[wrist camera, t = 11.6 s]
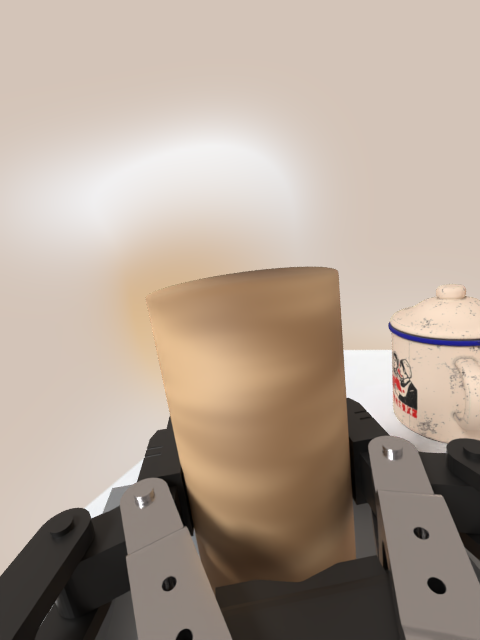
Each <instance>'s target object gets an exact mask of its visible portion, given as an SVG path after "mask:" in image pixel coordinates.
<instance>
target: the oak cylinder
mask: <svg viewBox="0 0 480 640" xmlns="http://www.w3.org/2000/svg"><path fill="white" fill-rule="evenodd" d="M146 302H147V307H148V311H149V316H150V321H151V326H152V330H153V336H154V340H155V345H156V350H157V355H158V359H159V364H160V369H161V373H162V378H163V383H164V387H165V393H166V397H167V402H168V407H169V412H170V416H171V421H172V426H173V431H174V436H175V440H176V445H177V450H178V455H179V459H180V464H181V467H182V472H183V477H184V482H185V486H186V491H187V496H188V501H189V506H190V510H191V515H192V520H193V525H194V531H195V536H196V540H197V545H198V550H199V555H200V559H201V563H202V565H203V568H204V570H205V573H206V575H207V578H208V580H209V583H210V585H211V588H212V590H213V593H214V595H215V588H216V587H221V586H226V585H231V584H236V583H241V582H246V581H250V580H255V579H257V580H271V581H286V582H301V581H304V580H306V579H308V578H310V577H312V576H313V575H315V574H317V573H319V572H321V571H323V570H325V569H327V568H329V567H331V566H333V565H335V564H336V563H339V562H344V561H349V560H354V559H356V547H355V531H354V515H353V499H352V483H351V467H350V451H349V435H348V419H347V403H346V387H345V371H344V355H343V339H342V323H341V308H340V291H339V275H338V271H337V270H336V269H332V268H327V267H289V268H276V269H265V270H256V271H248V272H240V273H234V274H226V275H220V276H214V277H209V278H204V279H199V280H194V281H189V282H185V283H181V284H177V285H173V286H169V287H166V288H163V289H160V290H157V291H155V292H153V293H150V294H149V295H147V296H146Z"/></svg>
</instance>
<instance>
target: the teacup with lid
mask: <svg viewBox="0 0 480 640" xmlns="http://www.w3.org/2000/svg"><path fill="white" fill-rule="evenodd" d="M465 295H466V288H465V287H464V286H463V285H459V284H448V285H441V286H439V287H438V288H437V289H436V296H437V297H432V298H429V299H426V300H424V301H422V302H420V303H419V304H417V305H415V306H412V307H408V308H405V309H402V310H400V311H398V312H396V313H395V314H394V315H393V316H392V317H391V319H390V322H389V329H390V331H391V332H392V373H393V409H394V413H395V415H396V417H397V418H398V419H399V421H400V422H401V423H402V424H404V425H405V426H406V427H407V428H409V429H411V430H412V431H414V432H416V433H418V434H420V435H422V436H425V437H427V438H430V439H433V440H437V441H441V442H445V443H449V442H450V441H452V440H454V439H459V438H470V439H476V440H480V300H478V299H476V298H472V297H467V296H465Z"/></svg>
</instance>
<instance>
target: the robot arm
mask: <svg viewBox="0 0 480 640" xmlns="http://www.w3.org/2000/svg"><path fill="white" fill-rule="evenodd" d="M346 403H347V419H348V435H349V451H350V467H351V483H352V498H353V499H354V501H355V503H356V505H360V504H365V503H368V504H369V506H370V507H371V518H372V527H373V534H374V541H375V549H376V555H374V556H369V557H364V558H359V559H354V560H349V561H344V562H339V563H336V564H335V565H333V566H331V567H329V568H327V569H325V570H323V571H321V572H319V573H317V574H315V575H313V576H312V577H310V578H308V579H306V580H304V581H301V582H286V581H271V580H257V579H255V580H250V581H246V582H241V583H236V584H231V585H226V586H221V587H216V588H215V595H214V593H213V590H212V588H211V585H210V583H209V580H208V578H207V575H206V573H205V570H204V568H203V565H202V563H201V560H200V558H199V555H198V553H197V550H196V548H195V545H194V543H193V540H192V538H191V536H194V525H193V520H192V515H191V510H190V506H189V501H188V496H187V491H186V486H185V482H184V477H183V472H182V467H181V464H180V459H179V455H178V450H177V445H176V440H175V436H174V431H173V426H172V421H171V416H170V417H169V421H168V425H167V429H163V430H158V431H157V432H156V433H155V434H154V435H153V436H152V437H151V439H150V441H149V444H148V447H147V451H146V454H145V458H144V460H143V464H142V467H141V470H140V474H139V477H138V480H137V483H135V484H133V485H132V486H131V487H129V488H128V489H127V490H126V491H125V492H124V494H123V495H122V497H121V499H120V505H119V506H118V507H116V508H114V509H112V510H110V511H108V512H106V513H103V514H101V515H99V516H96V517H94V518H92V519H91V516H90V514H89V512H88V511H87V510H86V509H83V508H73V509H69V510H66V511H63V512H61V513H59V514H57V515H56V516H54V517H53V518H51V519H50V520H48V521H47V522H46V523H45V524H44V525H43V526H42V527H41V528H40V529H39V531H38V532H37V533H36V534H35V535H34V536H33V538H32V539H31V540H30V541H29V542H28V544H27V545H26V546H25V547H24V549H23V550H22V551H21V552H20V553H19V554H18V556H17V557H16V558H15V559H14V561H13V562H12V563H11V564H10V565H9V567H8V568H7V569H6V570H5V571H4V573H3V574H2V575H1V576H0V640H95V638H96V636H97V634H98V632H99V630H100V627H101V625H102V623H103V621H104V619H105V617H106V615H107V612H108V610H109V608H110V606H111V603H112V600H113V599H115V598H117V597H119V596H121V595H123V594H125V593H126V592H128V591H130V590H131V595H132V602H133V608H134V615H135V621H136V628H137V634H138V640H480V584H479V581H478V579H477V577H476V574H475V572H474V569H473V567H472V565H471V562H470V560H469V557H468V555H467V552H466V550H465V548H466V549H467V550H468V551H469V552H470V553H472V554H473V555H474V556H475V557H476V558H477V559H478V560H479V561H480V440H476V439H470V438H459V439H454V440H452V441H450V442H449V443H448V444H447V452H446V453H425V452H418V451H417V449H416V447H415V446H414V445H413V444H412V443H410V442H409V441H407V440H405V439H402V438H399V437H395V436H390V435H389V434H388V433H387V432H386V431H385V430H384V429H383V428H382V427H381V426H380V425H379V424H378V422H377V421H376V420H375V419H374V418H372V416H371V415H370V414H369V413H368V412H366V410H365V409H364V408H363V407H362V405H361V404H360V403H358V402H356V401H354V400H352V399H350V398H346ZM464 547H465V548H464ZM53 604H54V605H53ZM52 606H53V607H52ZM50 609H51V610H50ZM48 612H49V613H48ZM47 614H48V615H47ZM45 617H46V618H45ZM43 620H44V621H43ZM42 622H43V623H42ZM40 625H41V626H40ZM39 627H40V628H39Z"/></svg>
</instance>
